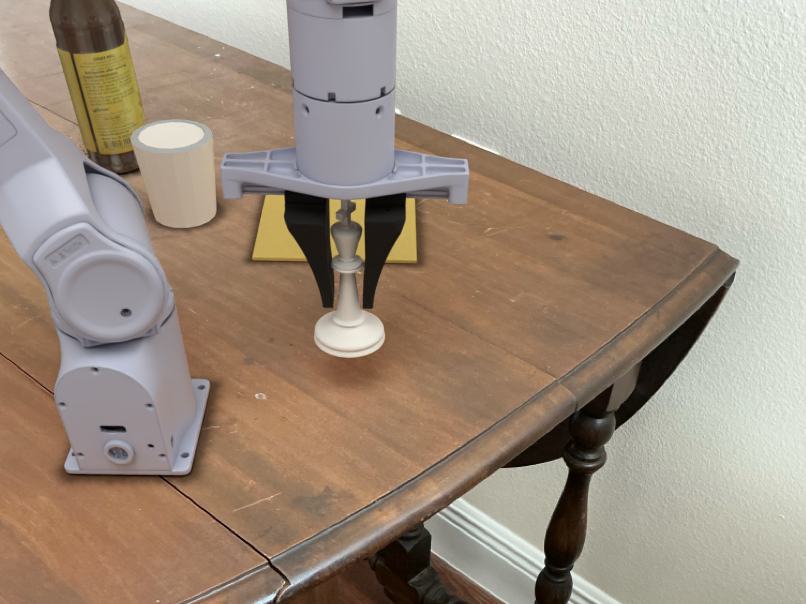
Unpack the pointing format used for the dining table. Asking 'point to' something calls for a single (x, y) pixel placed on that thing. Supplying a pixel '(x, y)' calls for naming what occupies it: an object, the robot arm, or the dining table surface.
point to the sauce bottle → (99, 79)
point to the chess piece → (348, 297)
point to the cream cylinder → (177, 171)
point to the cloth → (283, 247)
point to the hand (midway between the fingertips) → (348, 300)
